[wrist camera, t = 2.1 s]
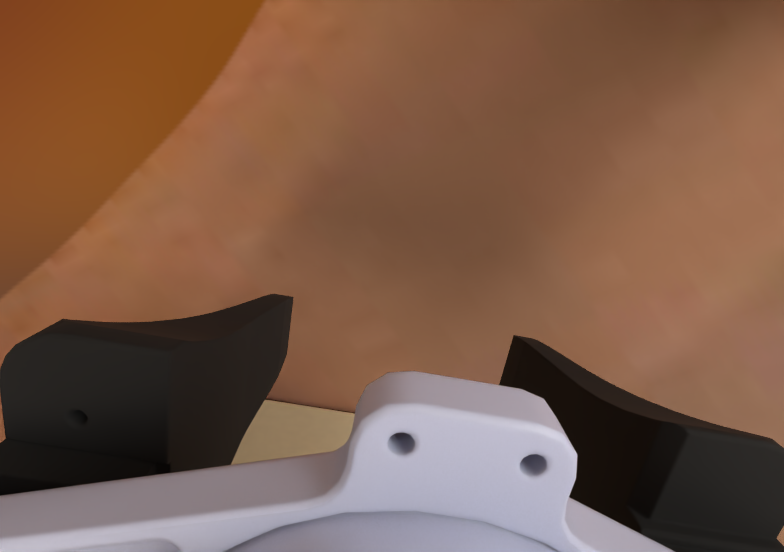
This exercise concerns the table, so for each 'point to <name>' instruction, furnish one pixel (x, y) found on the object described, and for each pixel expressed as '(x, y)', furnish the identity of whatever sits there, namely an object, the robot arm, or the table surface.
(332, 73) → the table surface
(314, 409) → the door
